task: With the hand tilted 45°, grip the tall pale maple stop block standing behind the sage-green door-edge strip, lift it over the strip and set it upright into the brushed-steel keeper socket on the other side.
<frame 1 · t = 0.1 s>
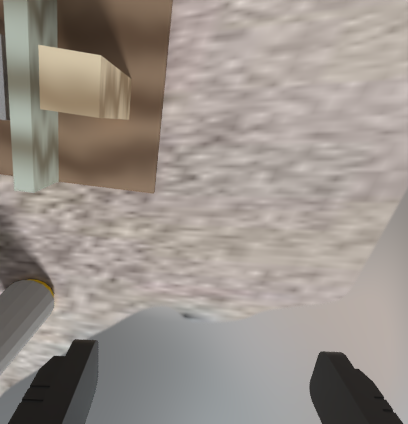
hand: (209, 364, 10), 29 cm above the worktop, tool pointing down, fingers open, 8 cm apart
door mockup: (52, 88, 33), on the worktop
soap bottle: (35, 294, 42), on the worktop
stop block: (110, 96, 33), point 1 cm above the worktop, touching door mockup
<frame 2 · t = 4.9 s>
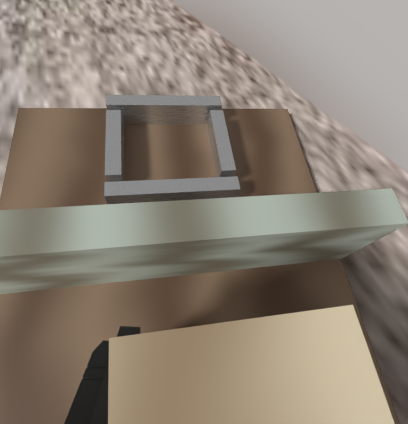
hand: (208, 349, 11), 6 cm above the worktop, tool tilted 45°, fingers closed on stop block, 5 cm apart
door mockup: (178, 264, 19), on the worktop
keeper socket: (168, 165, 22), resting on door mockup
stop block: (192, 388, 15), point 1 cm above the worktop, touching door mockup, gripper
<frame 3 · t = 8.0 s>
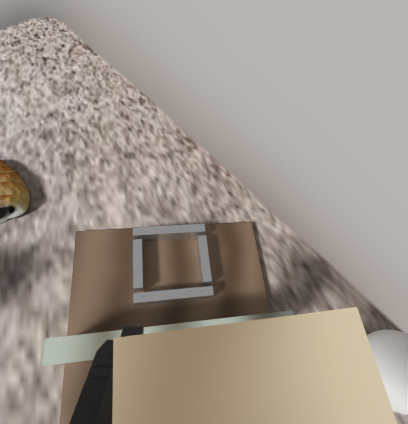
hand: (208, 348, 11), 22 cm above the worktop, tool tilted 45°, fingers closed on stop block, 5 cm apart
light bulb: (345, 365, 32), on the worktop
door mockup: (175, 338, 31), on the worktop
keeper socket: (171, 267, 34), resting on door mockup
stop block: (193, 389, 15), point 17 cm above the worktop, touching gripper
when the fingers open (8 cm above the worktop, at t = 11.1 s): stop block drops 1 cm, resting on door mockup.
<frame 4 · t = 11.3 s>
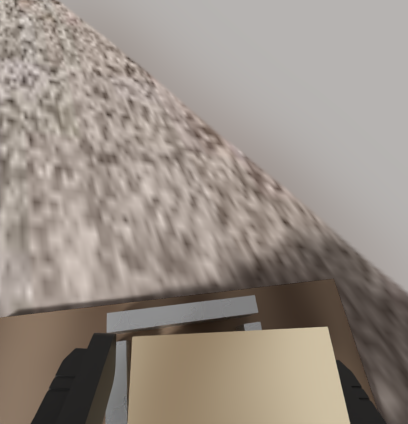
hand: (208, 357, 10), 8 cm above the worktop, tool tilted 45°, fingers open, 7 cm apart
keeper socket: (188, 384, 17), resting on door mockup
stop block: (190, 388, 16), point 1 cm above the worktop, touching door mockup
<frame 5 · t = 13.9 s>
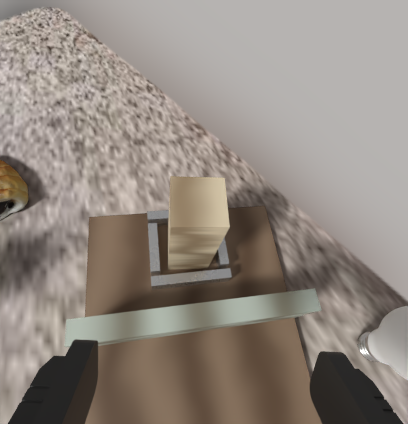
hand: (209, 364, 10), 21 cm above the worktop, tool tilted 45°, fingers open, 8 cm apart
light bulb: (364, 346, 32), on the worktop
door mockup: (194, 322, 30), on the worktop
keeper socket: (185, 251, 34), resting on door mockup
stop block: (187, 250, 33), point 1 cm above the worktop, touching door mockup
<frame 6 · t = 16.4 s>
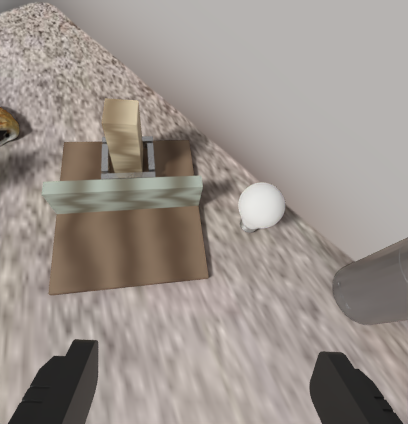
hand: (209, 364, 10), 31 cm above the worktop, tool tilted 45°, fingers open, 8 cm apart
light bulb: (247, 227, 47), on the worktop
door mockup: (131, 207, 46), on the worktop
keeper socket: (130, 167, 49), resting on door mockup
stop block: (129, 164, 49), point 1 cm above the worktop, touching door mockup
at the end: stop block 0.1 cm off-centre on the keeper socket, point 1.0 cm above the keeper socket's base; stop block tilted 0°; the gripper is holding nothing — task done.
